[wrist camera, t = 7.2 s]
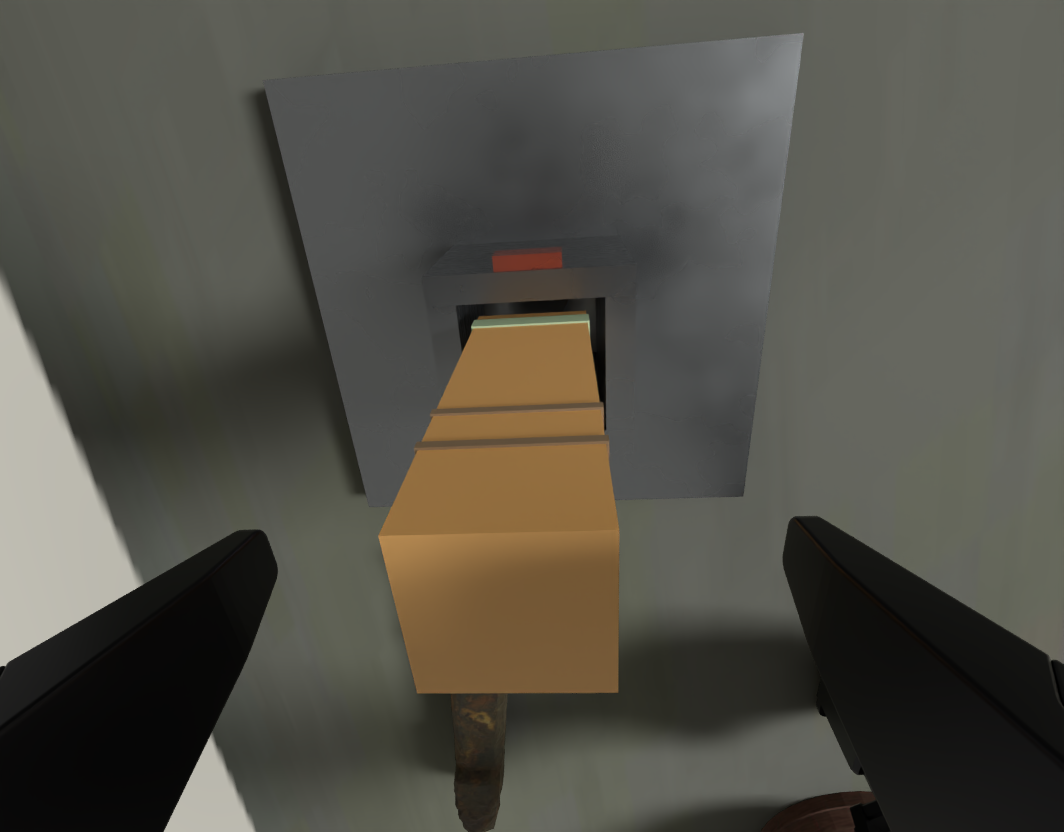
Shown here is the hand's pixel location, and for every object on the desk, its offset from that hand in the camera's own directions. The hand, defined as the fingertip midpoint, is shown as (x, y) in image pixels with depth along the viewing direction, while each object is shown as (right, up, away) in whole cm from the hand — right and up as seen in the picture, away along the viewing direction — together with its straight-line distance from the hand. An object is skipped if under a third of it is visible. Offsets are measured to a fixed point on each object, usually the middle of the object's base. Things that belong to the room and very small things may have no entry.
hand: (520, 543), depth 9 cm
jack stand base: (+1, +6, +11) cm, 13 cm away
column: (0, +4, +6) cm, 8 cm away
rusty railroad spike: (-2, -12, +21) cm, 24 cm away
